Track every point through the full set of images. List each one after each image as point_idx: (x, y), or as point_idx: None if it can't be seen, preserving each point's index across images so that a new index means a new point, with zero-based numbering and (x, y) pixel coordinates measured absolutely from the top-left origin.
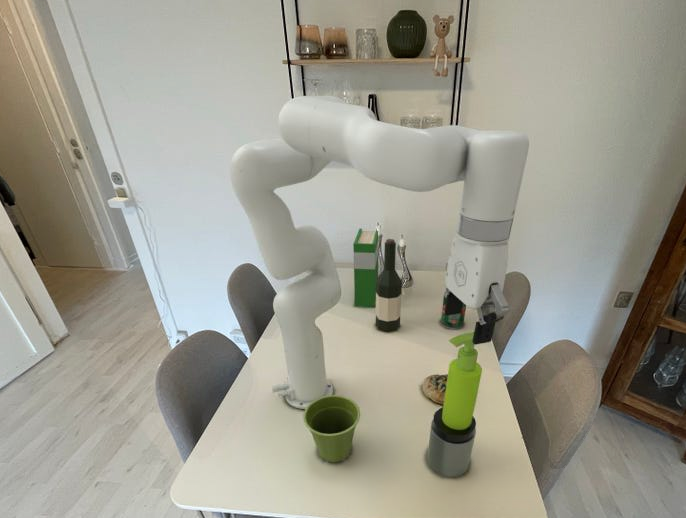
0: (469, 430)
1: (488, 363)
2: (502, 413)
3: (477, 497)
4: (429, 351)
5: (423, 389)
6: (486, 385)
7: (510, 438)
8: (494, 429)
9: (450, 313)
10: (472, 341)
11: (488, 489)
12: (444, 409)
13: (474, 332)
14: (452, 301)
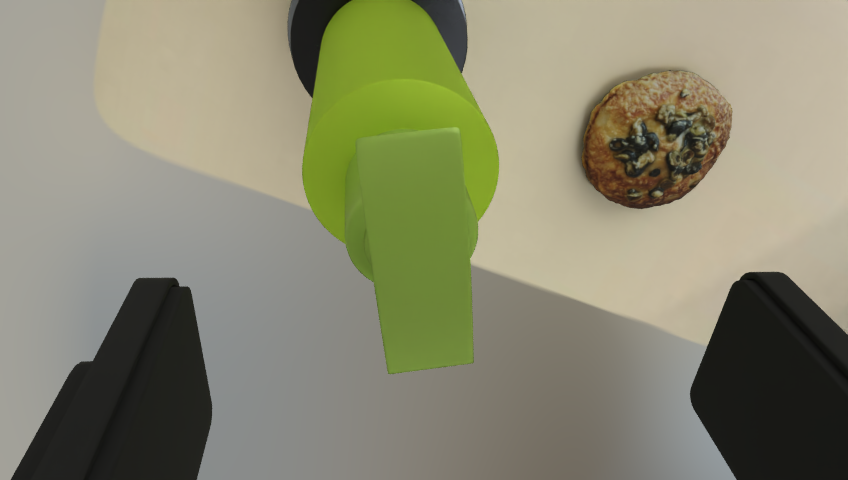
0: (308, 74)
1: (674, 326)
2: (478, 255)
3: (212, 14)
4: (844, 193)
5: (686, 74)
6: (598, 274)
7: None
8: None
9: (733, 319)
10: (166, 281)
11: (233, 63)
12: (394, 6)
13: (124, 365)
14: (823, 434)
